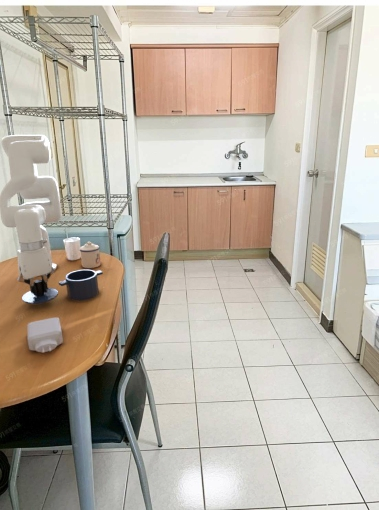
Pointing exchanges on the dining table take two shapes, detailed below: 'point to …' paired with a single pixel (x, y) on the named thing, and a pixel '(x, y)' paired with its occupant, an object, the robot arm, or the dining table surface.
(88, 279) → the pot
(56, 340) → the charger
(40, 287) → the pot lid
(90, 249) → the teacup with lid
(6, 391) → the dining table surface
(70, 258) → the white cup
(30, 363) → the dining table surface
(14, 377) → the dining table surface
